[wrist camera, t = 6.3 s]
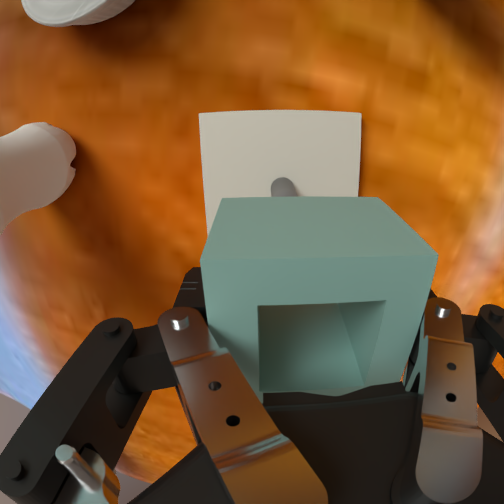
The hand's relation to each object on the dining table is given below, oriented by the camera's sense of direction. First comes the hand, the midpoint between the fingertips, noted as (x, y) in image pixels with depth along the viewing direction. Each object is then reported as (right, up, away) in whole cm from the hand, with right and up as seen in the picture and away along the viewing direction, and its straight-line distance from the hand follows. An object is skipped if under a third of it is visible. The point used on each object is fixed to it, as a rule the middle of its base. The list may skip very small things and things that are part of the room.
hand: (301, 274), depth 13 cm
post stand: (0, +6, +13) cm, 14 cm away
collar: (0, 0, +1) cm, 1 cm away
